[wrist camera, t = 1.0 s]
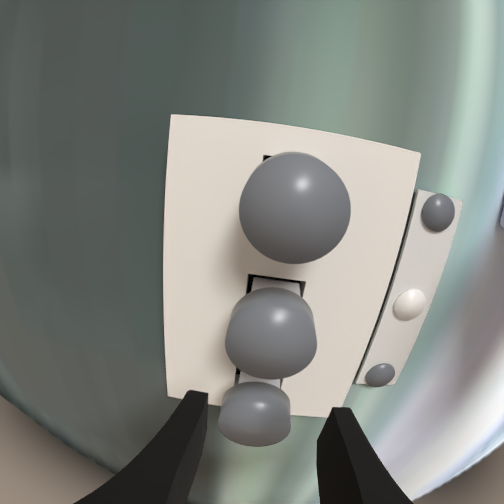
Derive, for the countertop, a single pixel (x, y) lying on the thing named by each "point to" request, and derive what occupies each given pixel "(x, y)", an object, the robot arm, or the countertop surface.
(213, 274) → the board
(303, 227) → the button
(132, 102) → the countertop surface
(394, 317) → the card
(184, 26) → the countertop surface
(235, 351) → the button
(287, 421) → the button
